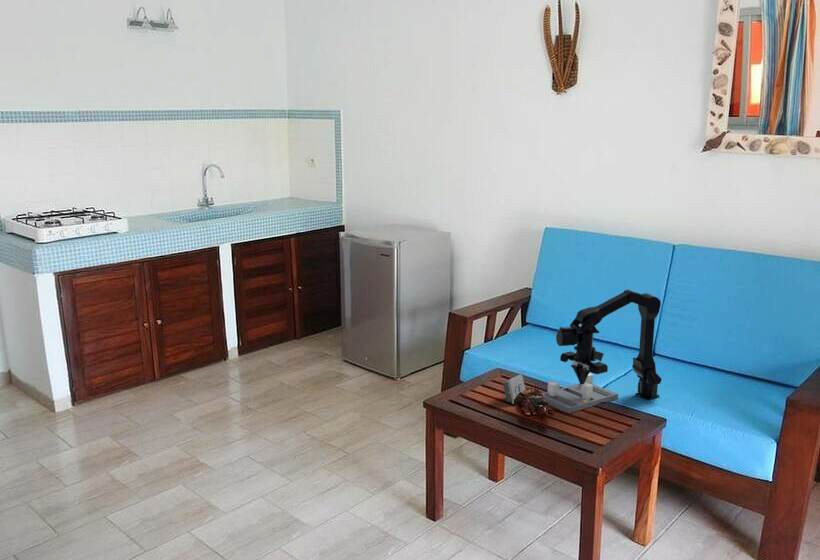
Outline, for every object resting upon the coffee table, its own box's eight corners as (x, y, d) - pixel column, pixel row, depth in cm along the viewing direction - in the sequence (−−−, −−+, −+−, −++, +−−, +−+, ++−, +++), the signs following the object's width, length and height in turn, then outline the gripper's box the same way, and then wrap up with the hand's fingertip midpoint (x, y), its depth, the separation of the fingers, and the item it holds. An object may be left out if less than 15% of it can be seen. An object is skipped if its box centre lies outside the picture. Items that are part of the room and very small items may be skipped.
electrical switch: (514, 406, 263) (513, 381, 261) (502, 403, 266) (501, 379, 265) (527, 398, 270) (526, 374, 269) (515, 396, 273) (514, 373, 272)
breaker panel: (617, 398, 270) (619, 381, 268) (568, 413, 256) (569, 395, 254) (586, 386, 283) (587, 369, 281) (537, 399, 269) (538, 381, 267)
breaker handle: (591, 401, 265) (592, 385, 264) (586, 403, 264) (587, 386, 262) (585, 399, 268) (586, 382, 267) (580, 400, 266) (581, 384, 265)
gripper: (619, 347, 260) (616, 387, 263) (581, 334, 275) (578, 373, 278) (598, 352, 254) (595, 393, 257) (560, 339, 269) (558, 378, 272)
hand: (582, 384), depth 266 cm, fingers closed
